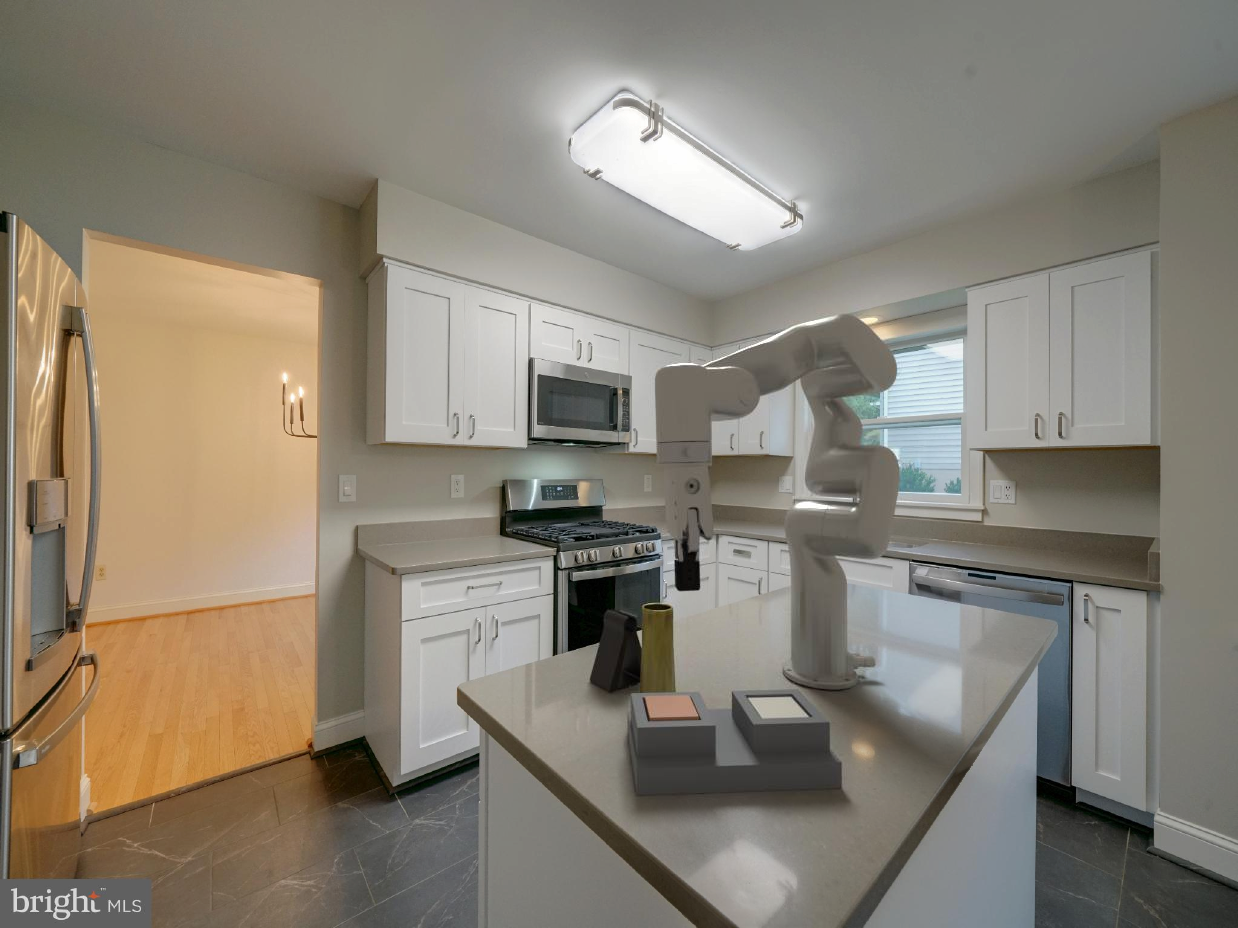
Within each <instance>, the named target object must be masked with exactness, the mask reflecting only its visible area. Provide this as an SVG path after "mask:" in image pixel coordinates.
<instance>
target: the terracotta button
mask: <svg viewBox="0 0 1238 928" xmlns="http://www.w3.org/2000/svg"><path fill="white" fill-rule="evenodd" d="M645 711H646V716H647V720H648V722H650V721H686V720H699V716H698V714H697V712H696V709H695V707H694V705H693V703H692V700H691V698H690V696H689V695H671V696H645Z"/></svg>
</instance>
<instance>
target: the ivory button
mask: <svg viewBox="0 0 1238 928" xmlns="http://www.w3.org/2000/svg"><path fill="white" fill-rule="evenodd" d="M748 700H749V702H750V703H751V705H752V706H753V708H754V709H755V710H756V712H757V713H758V715H759V716H760V718H794V717H809V716H808V715H807V714H806V713H805V712H804V711H803V710H802V709H801V707H800V706H799V705H798V704H797V703H796V702H795V701H794V700H793V698H792V697H763V698H748Z"/></svg>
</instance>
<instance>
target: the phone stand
mask: <svg viewBox="0 0 1238 928" xmlns="http://www.w3.org/2000/svg"><path fill="white" fill-rule="evenodd" d="M641 654H642V644H641V642H640V639H639V636H638V620H637V618H636V617H635V616H633V615H631V614H629V613H628V614H627V613H625V612H622V611H620V610H617V609H614V608H611V610H610V609H607V610H606V611H605V613H604V614H603V629H602V632H601V636H600V640H599V644H598V648H597V651H596V655H595V658H594V661H593V667H592V669H591V672H590V676H589V681H590V683H592V684H594V685H596V686H598V687H599V688H601V689H603V690H605V691H606V692H608V693H610V694H612V693H615V692H619V691H621V690H626V689H627V688H630V687H634V686H637V685H640V675H641V658H642V656H641Z"/></svg>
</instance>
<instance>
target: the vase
mask: <svg viewBox="0 0 1238 928" xmlns="http://www.w3.org/2000/svg"><path fill="white" fill-rule="evenodd" d="M641 607H642V608H641V648H642V654H641V656H642V658H641V675H640V684H639V689H638V690H639V693H666V692H677V689H676V671H675V666H676V665H675V649H674V607H673V605H671V604H669V603H664V602H650V603H646V604H643V605H642V606H641Z"/></svg>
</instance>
